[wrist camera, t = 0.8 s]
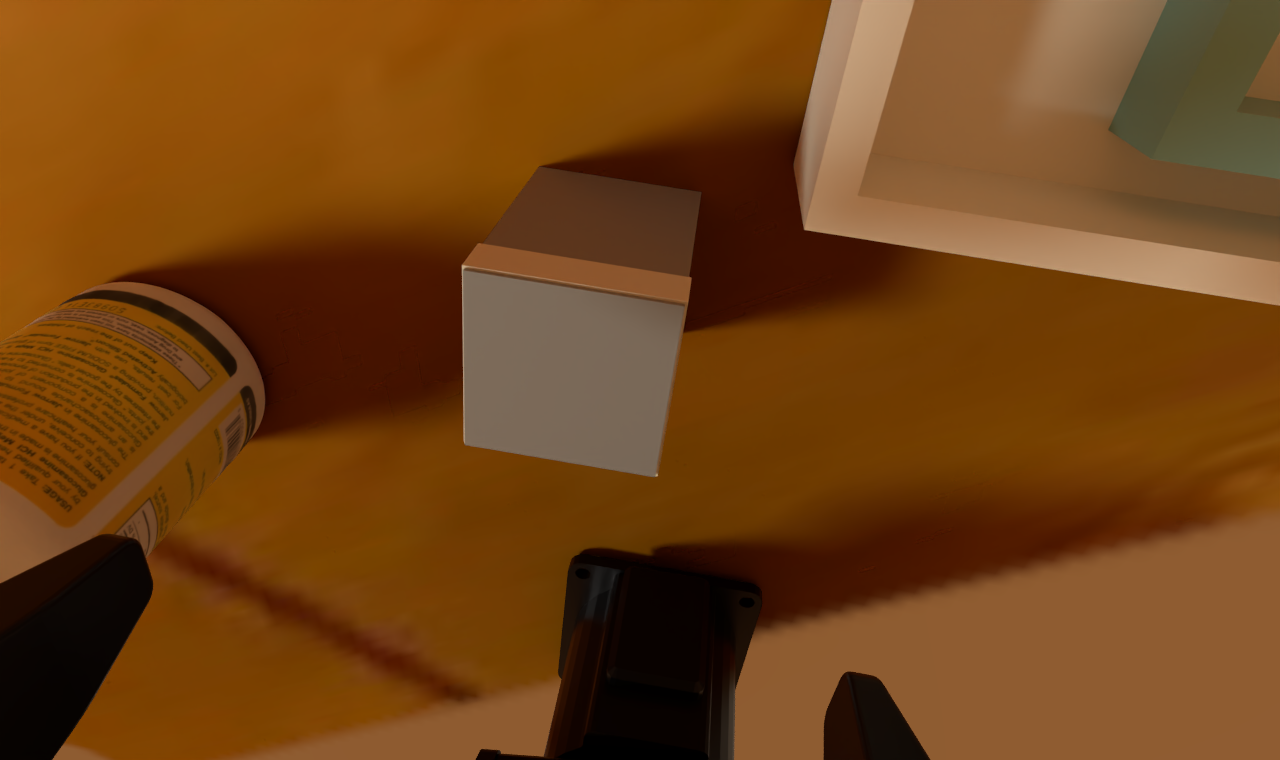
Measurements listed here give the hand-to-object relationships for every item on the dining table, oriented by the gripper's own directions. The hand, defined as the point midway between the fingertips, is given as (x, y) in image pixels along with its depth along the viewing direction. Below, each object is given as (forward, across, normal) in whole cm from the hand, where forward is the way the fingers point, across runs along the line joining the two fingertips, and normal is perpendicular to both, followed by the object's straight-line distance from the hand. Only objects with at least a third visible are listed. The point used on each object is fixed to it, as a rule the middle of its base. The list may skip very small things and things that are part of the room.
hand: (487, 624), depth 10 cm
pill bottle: (+12, +13, +6) cm, 19 cm away
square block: (+12, 0, 0) cm, 12 cm away
